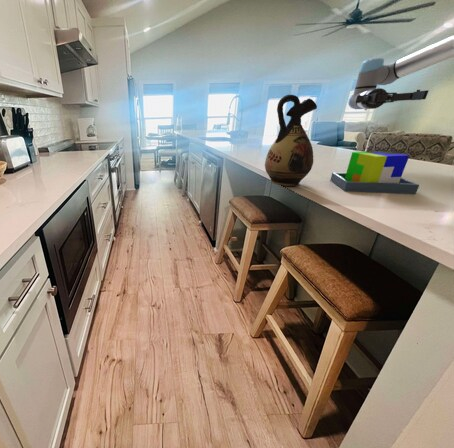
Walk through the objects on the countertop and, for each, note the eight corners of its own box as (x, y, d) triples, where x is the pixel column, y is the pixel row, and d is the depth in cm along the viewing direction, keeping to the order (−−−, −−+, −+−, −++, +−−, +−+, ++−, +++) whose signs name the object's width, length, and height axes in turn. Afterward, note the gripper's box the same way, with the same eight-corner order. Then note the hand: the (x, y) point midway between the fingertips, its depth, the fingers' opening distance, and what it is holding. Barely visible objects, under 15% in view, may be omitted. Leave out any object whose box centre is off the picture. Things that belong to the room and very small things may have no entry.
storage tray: (390, 182, 86) (393, 173, 85) (415, 194, 74) (419, 184, 73) (330, 180, 92) (332, 172, 91) (344, 191, 79) (346, 182, 78)
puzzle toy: (397, 187, 78) (409, 155, 74) (365, 188, 78) (376, 156, 74) (372, 179, 87) (381, 150, 83) (344, 180, 87) (352, 152, 83)
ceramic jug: (296, 178, 97) (313, 94, 85) (316, 188, 83) (340, 90, 71) (253, 178, 99) (263, 96, 87) (265, 189, 85) (279, 93, 73)
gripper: (405, 107, 99) (442, 106, 81) (335, 110, 107) (354, 110, 89) (412, 86, 96) (452, 80, 78) (339, 91, 104) (360, 86, 86)
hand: (400, 96), depth 83 cm, fingers open, 13 cm apart
